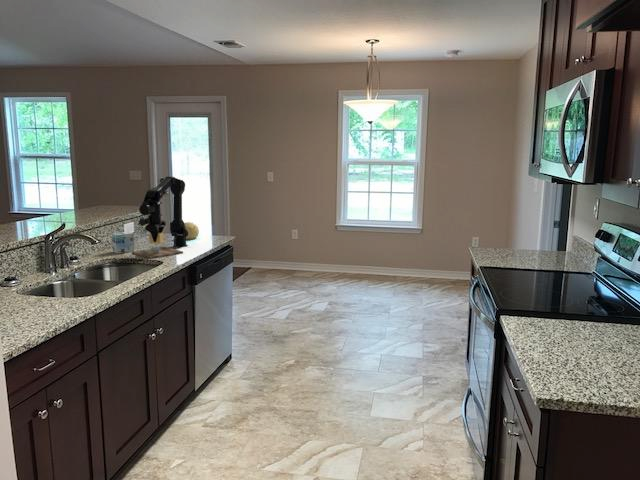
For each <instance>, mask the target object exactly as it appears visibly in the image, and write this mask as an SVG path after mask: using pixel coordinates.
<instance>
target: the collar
mask: <svg viewBox="0 0 640 480" xmlns="http://www.w3.org/2000/svg"><path fill="white" fill-rule="evenodd" d="M148 239H149V240H148V241H149V244H150V245H151V244H152V245H153V244H158V245H159V244H162V243H164V232H162V233H158V237H157V240H156V242H154V241H153V238H152V235H151V233H149V234H148Z"/></svg>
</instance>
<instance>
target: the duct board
mask: <svg viewBox="0 0 640 480" xmlns="http://www.w3.org/2000/svg"><path fill="white" fill-rule="evenodd" d="M131 254H132V255H136V256H140V257H143V258H147V259H151V260H152V259H158V258H163V257H169V256H170V257H171V256H175V255H181V254H184V251H183V250H180V249H175V248H171V247H167V246H161V253H159V254H153V247H152V248H148V249H147V248H146V249H141V250H140V249H139V250H135V251H133V252H132V253H131Z"/></svg>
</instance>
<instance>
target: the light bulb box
mask: <svg viewBox="0 0 640 480" xmlns="http://www.w3.org/2000/svg"><path fill="white" fill-rule="evenodd" d="M111 241H112V242H111V243H112V253H115V254H125V253H131V252H133V251H136V249H135V248H136V247H135V233H134V232H132V231H121V232H113V233H111Z"/></svg>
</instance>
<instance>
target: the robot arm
mask: <svg viewBox="0 0 640 480" xmlns="http://www.w3.org/2000/svg"><path fill="white" fill-rule="evenodd" d="M185 188H186V183H185V181H184V180H183V179H179V178H176V177H174V176H165V177H164V179H162V181H160V183H159V184H157V186H155V187H152V188H149V189H148V190H147V191H146V193H145V196H144V199H143V201H142V202H141V205H140V206H139V208H138V211H139V213H140V215H142V216H147V215H148V216H147V217H146V218H145V217H142V218H139V220H138V225H140V227H144V226H145V225H146V226H145V227H144V229H145V231H147V232H149V234H151V235H152V238H153V241H154V242H156V240H157V237H158V233H163V230H164V228H165V226H167V225H166V221H165V220H162V213H161V204H162V203H163V202H162V201H161V199H162V198H163V196H164V193H165V192H166V191H167V189H170V192H171V194H172V196H173V197H172V198H173V199H172V200H173V202H172V203H173V205H172V207H173V214H172V215H173V218H172V219H173V220H172V221H171V222H169V225H170V226H169V231H170V235H171V237H173V240H172V241H173V245H172V246H173V247H175V248H182V247H188V246H189V245H188V244H187V239H186V236H188V231H187V229H186V228H185V223H186V222H184V220H183V194H184V192H185V190H186V189H185Z"/></svg>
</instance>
